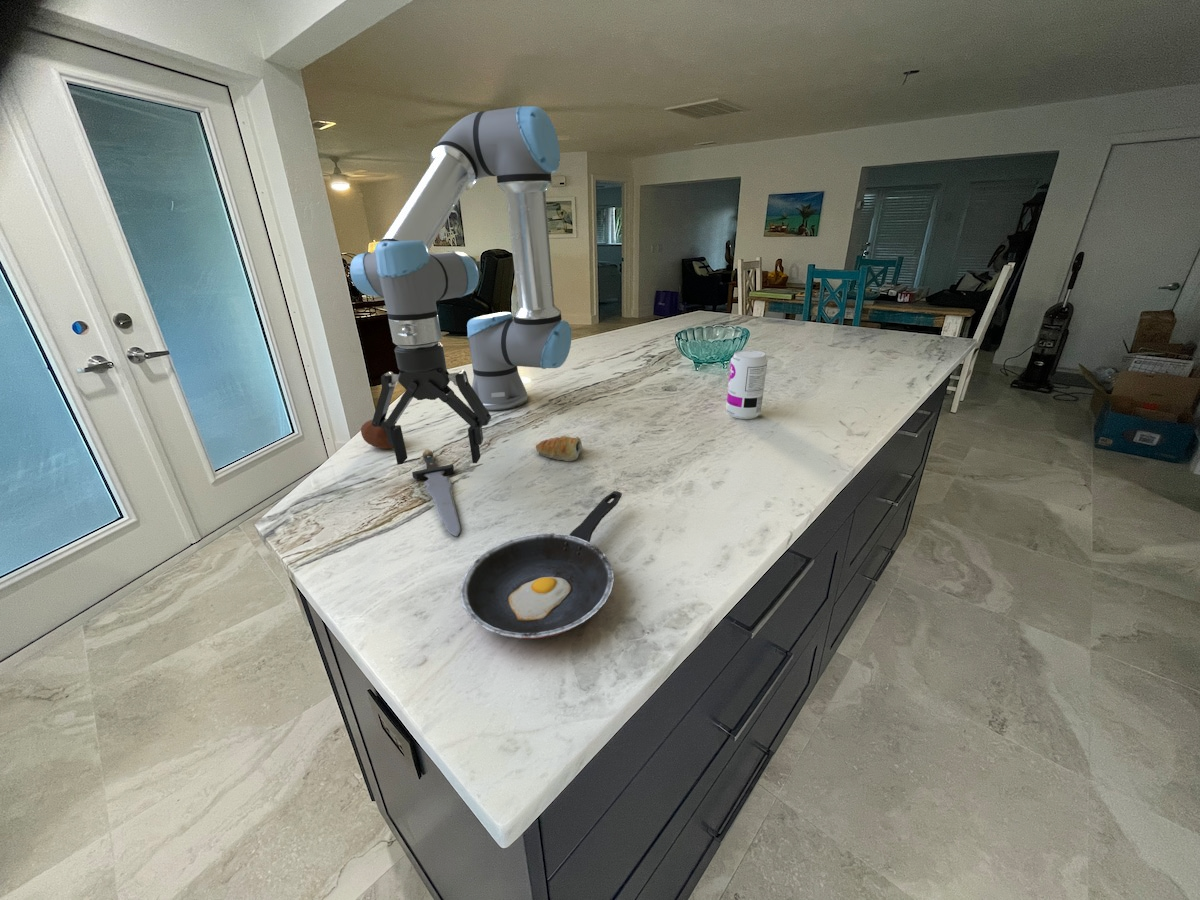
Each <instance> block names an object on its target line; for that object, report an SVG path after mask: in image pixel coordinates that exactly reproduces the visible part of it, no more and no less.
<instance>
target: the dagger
mask: <svg viewBox="0 0 1200 900" xmlns="http://www.w3.org/2000/svg"><path fill="white" fill-rule="evenodd" d="M422 459H423V461H424V462H425V465H426V468H424V469H419V470H416V471H412V472H411V474H412V478H413V479H414V480H416V481H419V480H424V479H426V480H425V481H424V482H423V484H425V486H426V488H425V492H427V493H428V494H429V495H430V496H431V498H432V499H433V501H434V504H435V506H436V508H437V510H438V513H439V515H440V517H441V519H442V521H443V524H444V526H445V528H446V530H447V531H448V533H449V534H450V535H452V536H455V537H458V536H459V535H460V533H461V530H462V529H461V523H460V519H459V516H458V512H457V508H456V504H455V501H454V497H453V493H452V490H453V487H454V484H453V483H451V482H450V477H449V476H446V475H452V474H453V473H454V471H455V467H454V464H447V465H441V466H438V465H437V463H436V461H435V459H434V451H432V450H430V449H427V448H426V449H424V450H423V452H422Z"/></svg>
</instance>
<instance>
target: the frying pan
mask: <svg viewBox="0 0 1200 900" xmlns="http://www.w3.org/2000/svg"><path fill="white" fill-rule="evenodd" d="M622 495H623V493H622V492H621V491H617V490H613V491H612V492H610V493H608V494H607V495H606V496H605V497H603V498H602V499H601V500H600V502H598V504H597V505H596V506H595V507H594V508H593V510H591V512H590V513H589V514H587V516H586V517H585V518H584V520H583V521H581V523H580V524H579V525H578V526H576V527H575V528H574V529H573V530H572V531H571V532H570V533H569V534H563V533H554V532H550V533H549V532H545V533H544V532H543V533H532V534H527V535H521V536H518V537H514V538H511V539H508V540H506V541H504V542H501V543H499V544H497V545H495V546H493V547H491V548H489V549H488V550H486V552H484V553H482V554H481V555H480V556H479V557H478V558H477V559H476V560H475V561H474V562H473V563H471V565H470V566H469V568H468V569H467V571H466V572H465V574H464V576H463V579H462V581H461V584H460V594H459V595H460V601H461V605H462V607H463V609H464V610H465V612H466V614H467V615H468V617H469V618H470V619H472V621H473V622H475V623H476V625H479V626H480V627H482V628H484V629H486V630H487V631H489V632H491V633H494V634H498V635H500V636H503V637H508V638H514V639H521V640H539V639H545V638H546V639H547V638H551V637H554V636H555V637H556V636H558V635H561V634H564V633H567V632H568V631H570V630H572V629H574V628H576V627H578V626H580V625H581V624H583V623H585V622H586V621H587V620H588V619H591V617H593V616H595V614H596V613H597V612H598V611H600V609H601V608H602V607H603V605H604V604H605V603H606V601H607V600H608V598H609V596H610V595H611V593H612V589H613V585H614V580H615V579H614V569H613V566H612V563H611V561H610V559H609V558H608V557H607V555H606V554H605V553H604V552H603V551H602V550H601V549H600V548H599V547H598V546H596V545H595V544H593V543H592V542H591V539H592V536H593V534H594V531H596V529H597V527H598V526H599V525H600V523H601V521H602V520H603V519H604V518H605V517H606V516H607V515H608V514H609V513H611V511H612V510H613V509H614V508H615V507H616V506H617V505H618V503H619V502H620V501H621V500H620V499H621V498H622Z"/></svg>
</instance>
